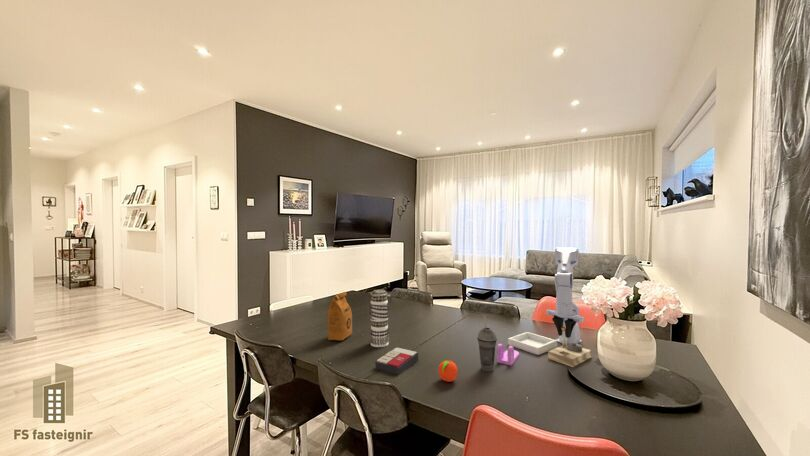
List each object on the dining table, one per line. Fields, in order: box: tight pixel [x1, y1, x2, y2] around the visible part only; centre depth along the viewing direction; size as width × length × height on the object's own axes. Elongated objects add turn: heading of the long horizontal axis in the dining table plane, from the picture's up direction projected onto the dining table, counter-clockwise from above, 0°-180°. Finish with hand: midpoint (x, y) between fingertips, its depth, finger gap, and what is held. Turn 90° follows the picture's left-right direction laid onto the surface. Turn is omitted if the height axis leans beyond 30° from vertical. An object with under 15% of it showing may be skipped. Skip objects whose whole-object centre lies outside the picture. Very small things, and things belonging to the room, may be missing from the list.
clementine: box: [437, 359, 459, 383], centre depth 114 cm, size 8×7×7 cm
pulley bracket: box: [547, 342, 592, 368], centre depth 133 cm, size 15×10×6 cm, turn 126°
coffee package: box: [327, 291, 353, 342], centre depth 160 cm, size 10×12×22 cm
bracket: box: [496, 343, 520, 366], centre depth 133 cm, size 13×6×7 cm, turn 145°
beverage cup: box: [477, 315, 497, 372], centre depth 124 cm, size 7×7×20 cm
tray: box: [507, 331, 558, 356], centre depth 147 cm, size 15×15×3 cm
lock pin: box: [561, 326, 567, 348], centre depth 130 cm, size 3×3×8 cm
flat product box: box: [374, 347, 419, 376], centre depth 129 cm, size 11×4×15 cm
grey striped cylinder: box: [368, 289, 390, 348], centre depth 152 cm, size 9×9×25 cm
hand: (564, 336), depth 130 cm, fingers closed on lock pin, 3 cm apart
